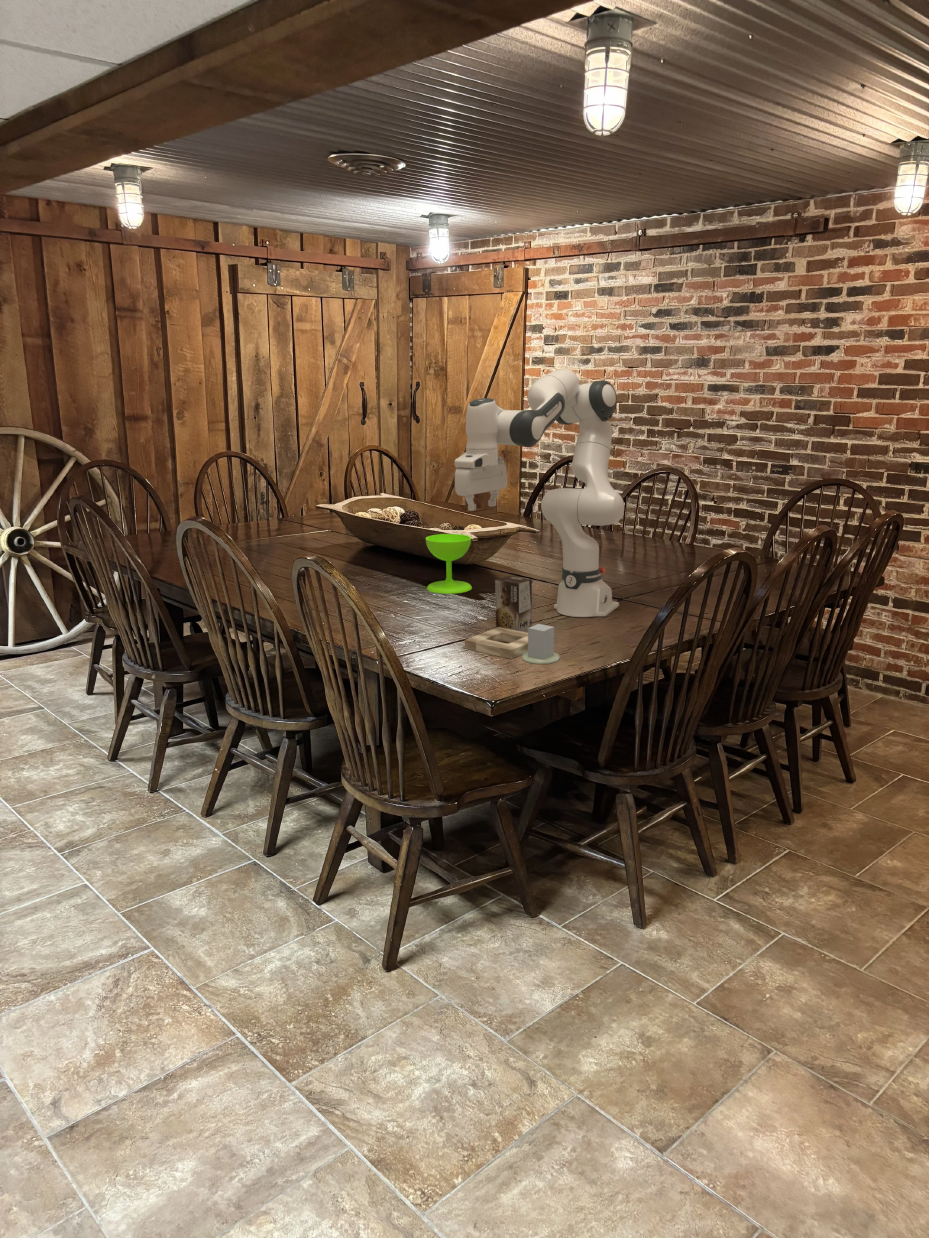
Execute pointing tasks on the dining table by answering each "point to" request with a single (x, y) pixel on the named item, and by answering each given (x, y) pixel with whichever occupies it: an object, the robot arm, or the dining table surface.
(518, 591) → the coffee box
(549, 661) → the pad
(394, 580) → the dining table surface
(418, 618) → the dining table surface
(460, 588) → the wineglass
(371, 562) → the dining table surface
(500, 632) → the pocket board
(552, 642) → the block
